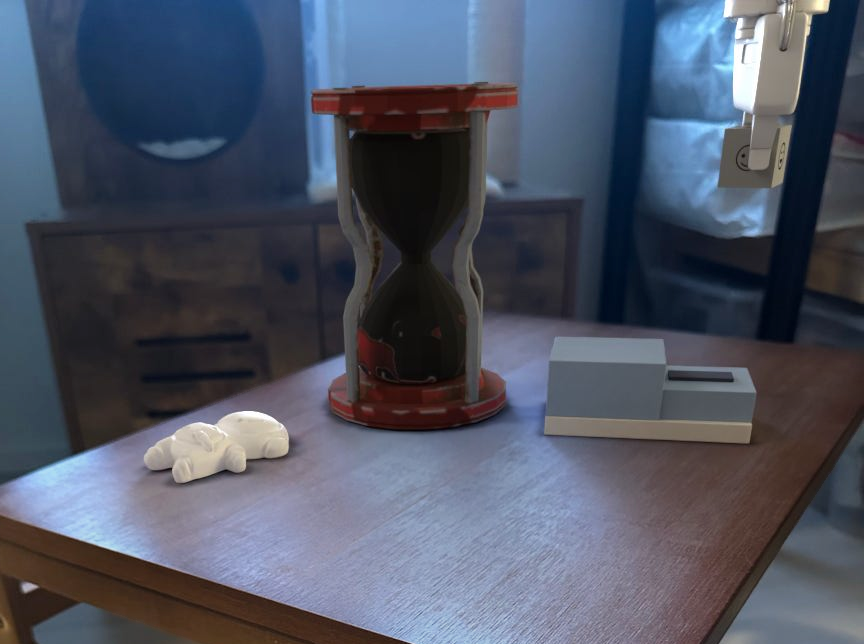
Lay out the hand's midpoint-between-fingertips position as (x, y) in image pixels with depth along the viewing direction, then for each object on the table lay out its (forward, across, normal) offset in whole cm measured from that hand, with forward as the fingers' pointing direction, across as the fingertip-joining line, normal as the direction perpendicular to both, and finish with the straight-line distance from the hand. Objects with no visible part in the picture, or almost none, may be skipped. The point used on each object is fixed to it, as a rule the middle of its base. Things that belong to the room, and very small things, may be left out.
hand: (753, 166), depth 91 cm
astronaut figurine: (+17, -40, +42) cm, 60 cm away
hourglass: (+17, -24, +29) cm, 41 cm away
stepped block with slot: (+17, -27, +9) cm, 33 cm away
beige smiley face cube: (+2, 0, 0) cm, 2 cm away
